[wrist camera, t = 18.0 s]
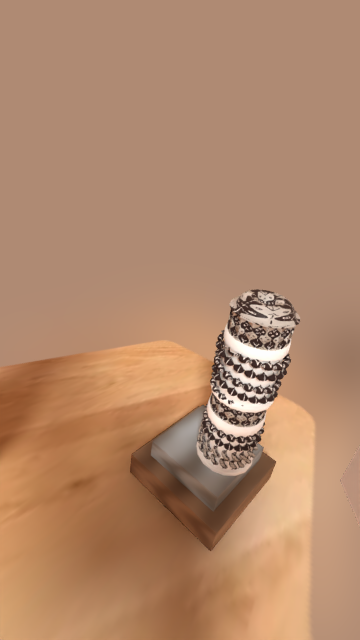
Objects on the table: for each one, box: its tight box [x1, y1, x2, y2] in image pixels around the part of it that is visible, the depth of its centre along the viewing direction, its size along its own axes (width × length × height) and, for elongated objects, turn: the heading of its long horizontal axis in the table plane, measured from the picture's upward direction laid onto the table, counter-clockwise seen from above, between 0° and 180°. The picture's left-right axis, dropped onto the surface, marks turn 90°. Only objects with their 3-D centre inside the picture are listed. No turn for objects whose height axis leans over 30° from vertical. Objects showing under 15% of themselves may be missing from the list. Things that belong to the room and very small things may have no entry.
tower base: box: [130, 405, 276, 551], centre depth 53 cm, size 16×16×7 cm
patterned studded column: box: [196, 290, 300, 476], centre depth 45 cm, size 9×9×25 cm
